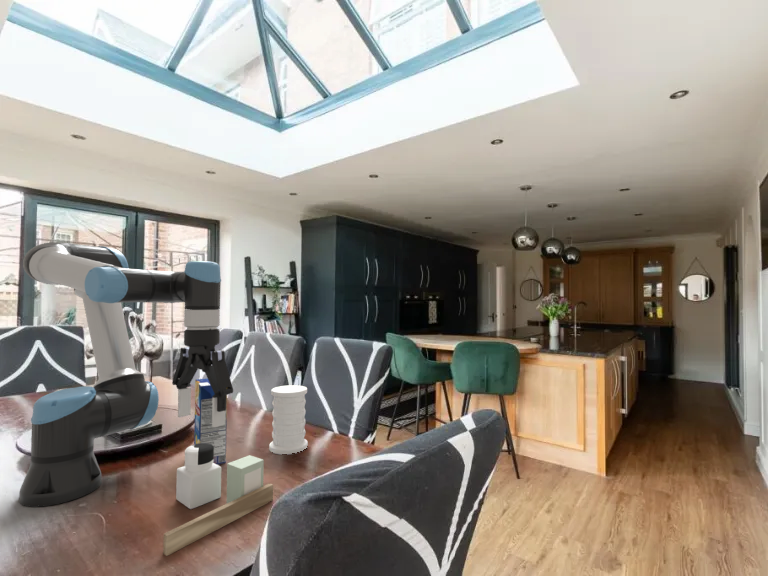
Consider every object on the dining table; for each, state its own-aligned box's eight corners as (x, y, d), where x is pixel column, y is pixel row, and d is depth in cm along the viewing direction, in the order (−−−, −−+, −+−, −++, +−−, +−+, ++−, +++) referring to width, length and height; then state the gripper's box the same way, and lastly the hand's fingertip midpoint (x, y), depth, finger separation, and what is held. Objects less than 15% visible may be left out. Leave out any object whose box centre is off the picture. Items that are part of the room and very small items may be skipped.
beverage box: (199, 468, 108) (200, 386, 109) (193, 454, 117) (195, 379, 118) (225, 462, 112) (227, 383, 112) (218, 450, 121) (220, 377, 122)
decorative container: (261, 452, 120) (262, 391, 120) (282, 439, 131) (283, 383, 131) (295, 456, 116) (296, 394, 117) (314, 443, 127) (314, 386, 128)
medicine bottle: (206, 488, 97) (207, 438, 97) (221, 497, 92) (222, 445, 92) (175, 499, 91) (176, 446, 91) (190, 510, 86) (191, 454, 87)
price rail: (162, 553, 72) (162, 533, 72) (268, 498, 92) (268, 482, 92) (166, 556, 71) (167, 535, 71) (272, 500, 91) (272, 484, 91)
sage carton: (226, 504, 89) (227, 463, 89) (248, 493, 94) (249, 455, 94) (240, 511, 86) (241, 469, 86) (263, 499, 91) (263, 459, 91)
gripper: (250, 329, 89) (249, 425, 88) (187, 325, 103) (186, 408, 102) (220, 331, 83) (218, 435, 82) (157, 327, 96) (155, 415, 96)
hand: (200, 420), depth 92 cm, fingers open, 13 cm apart
